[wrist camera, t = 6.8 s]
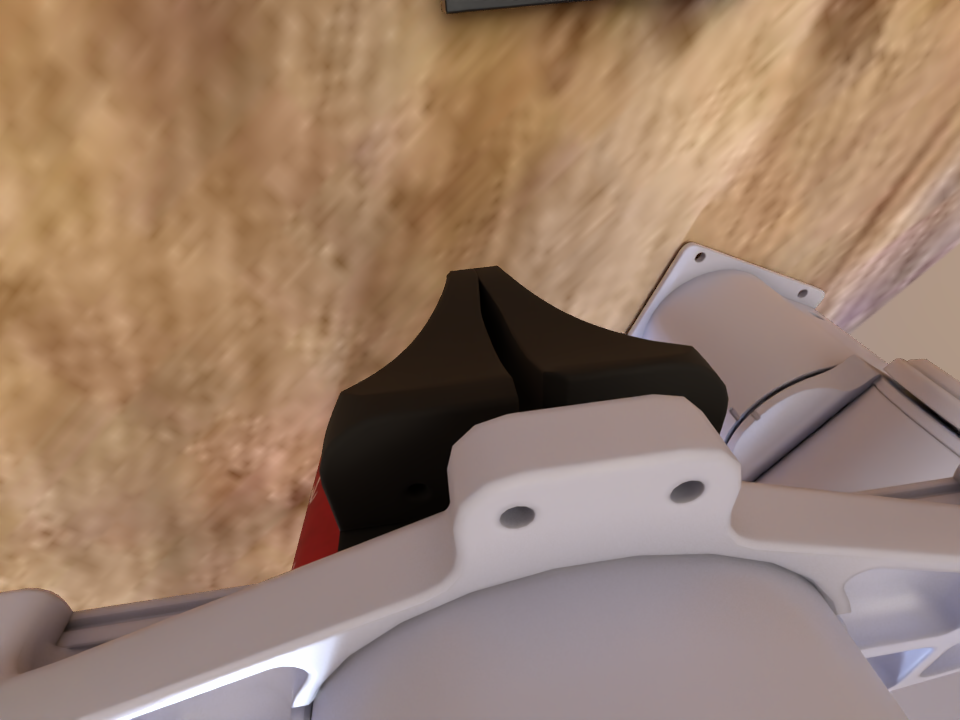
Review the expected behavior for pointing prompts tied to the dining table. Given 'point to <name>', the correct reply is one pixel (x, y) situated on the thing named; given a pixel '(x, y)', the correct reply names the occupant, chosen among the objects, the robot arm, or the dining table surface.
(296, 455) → the dining table surface
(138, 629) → the robot arm
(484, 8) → the switch block
